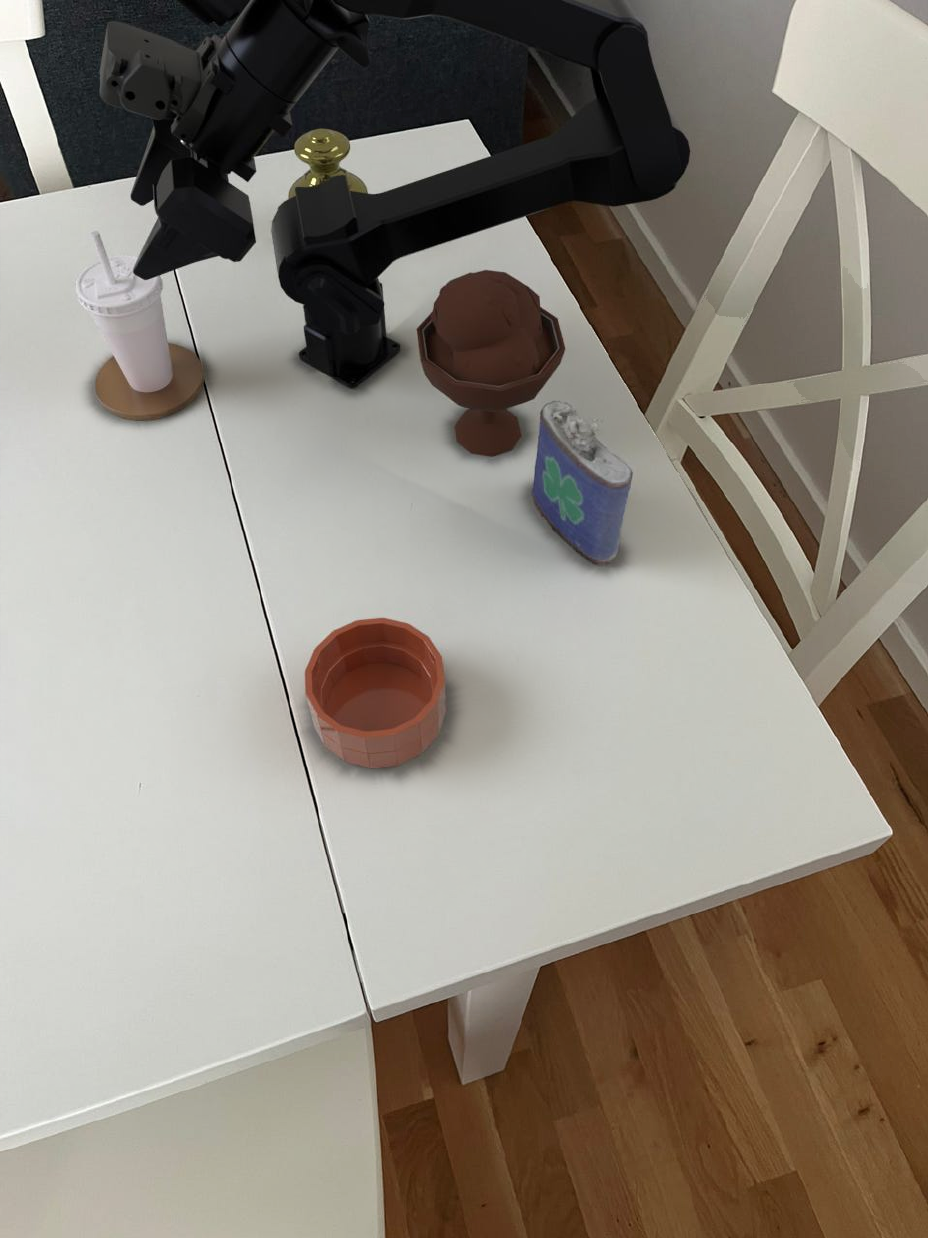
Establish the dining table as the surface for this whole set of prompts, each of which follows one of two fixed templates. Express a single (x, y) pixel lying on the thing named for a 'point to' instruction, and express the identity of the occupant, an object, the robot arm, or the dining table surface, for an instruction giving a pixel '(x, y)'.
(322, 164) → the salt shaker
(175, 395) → the coaster
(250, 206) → the robot arm
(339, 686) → the bowl
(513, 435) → the ice cream bowl
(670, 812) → the dining table surface
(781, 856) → the dining table surface
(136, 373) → the smoothie
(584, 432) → the flask
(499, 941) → the dining table surface
